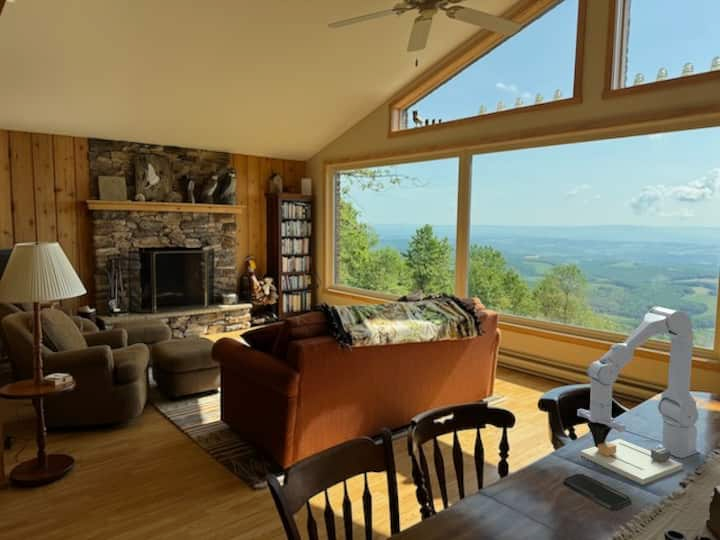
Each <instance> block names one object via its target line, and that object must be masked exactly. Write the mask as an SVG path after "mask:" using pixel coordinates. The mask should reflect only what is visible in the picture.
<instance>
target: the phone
mask: <svg viewBox="0 0 720 540" xmlns="http://www.w3.org/2000/svg"><path fill="white" fill-rule="evenodd" d="M563 483H564V485H565V486H567V487H569V488H571V489H572V490H574V491H576V492H578V493H580V494H582V495H583V496H585V497H587V498H589V499H590V500H593V501H595V502H596V503H598V504H599V505H602V506H604V507H606V508H608V509H609V510H618V509H620V508H622V507H624V506H626V505H629V504H631V503H632V499H631V497H630V496H627V495H626V494H624V493H622V492H619V491H618V490H617V489H614V488H612V487H610V486H608V485H606V484H604V483H602V482H600V481H598V480H596V479H594V478H592V477H590V476H588V475H586V474H584V473H576V474H574V475H573V474H572V475H571V476H568V477H565V478H563V479H562V484H563Z"/></svg>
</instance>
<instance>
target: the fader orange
mask: <svg viewBox="0 0 720 540" xmlns="http://www.w3.org/2000/svg"><path fill="white" fill-rule="evenodd" d="M610 442H611V441H605V442H604V443H600V444H598V452H599V453H601V454H603V455H606V456H609V455H612V454H615V453H616V445H615V444H612V443H610Z"/></svg>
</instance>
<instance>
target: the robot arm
mask: <svg viewBox="0 0 720 540" xmlns="http://www.w3.org/2000/svg"><path fill="white" fill-rule="evenodd" d="M691 324H692V318H691V316H689V315H688V314H686V313H685V312H684V311H682V310H675V309H671V308H666V307H662V306H659V305H658V306H654V307H652V308H651V309H650V310H649V311H648V312H647V313H646V314H644V316H643V320H642V321H641V323H640V324H639V325H638V326H637V327H636V328H635V329H634V330H633V332H632V333H631V334H630V335H629V336H628V337H627V338H626V339H625V340H624V341H623V342H622V343H621V342H618V343H615V344H613V345H611V346H610V349H609V350H608V351H607V352H606V353H605V354H604V355H602V356H601V357H600V358H599V360H595V361H593V362H591V363H590V364H589V365H588V368H587V369H586V373H587V376H588V377H589V380H590V382H589V383H590V398H589V399H590V402H589V409H584V408H579V409H577V411H576V413H577V414H576V415H577V416H578V417H582V418H585V419H588V421H589V422H587V427H588V429H589V431H590V433H591V436H592V439H593V443H594V447H597V448H598V444H600V443H604V442H606V439H607V437H608V435H609V433H610V432H611V430H612V429H614V430H616V431H617V432H618V433H623V432H626V424H625V423H622V422H620V421H618V420H616V419H615V418H613V417H612V406H613V405H612V401H613V383H615V382H616V381H617V380H618V377H619V373H620V371H621V370H622V369H623V368H624V367H625V366H626V365H627V364H628V363H629V362H630V361H631V360H632V359H633V358H634V351H635V350H637V349H638V348H639V347H641V345H643V344H644V343H645V342H647V341H648V340H649V339H650V338H652V337H653V336H654V335H659V334H660V335H661V334H662V335H663V334H666V335H667V336H668V338H670V351H669V365H668V379H667V380H668V381H667V389H666V390H664V391H662V392H661V396H660V400H659V401H658V404H657V410H658V412H659V414H661V419H662V420H663V421H662V437H661V438H662V440H661V444H659V445H656V446H654V449H655V448H658V447H661V448H665V449H666V450H669V451H670V456H671V455H672V456H673V457H677V458H679V459H685V458H687V457H689V456H692V455H695V454H697V453H700V450H699V449H698V448H697V442H698V441H697V439H698V429H697V427H696V425H695V424H696V423H697V421H698V420H699V411H698V409H697V400H695V398H694V397H693V396H692V394H691V393H690V389H691V377H692V376H691V375H692V360H693V347H694V331H693V328H692V325H691Z"/></svg>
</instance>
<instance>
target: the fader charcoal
mask: <svg viewBox="0 0 720 540" xmlns="http://www.w3.org/2000/svg"><path fill="white" fill-rule="evenodd" d="M650 451H651V458H652V459H655V460H657V461H660V462H663V461H666V460H669V459H671V458H670V457H671V454H670V451H669V450H666V449H665V448H661V447H658V448H655V447H654V448H652V449H651V450H650Z"/></svg>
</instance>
